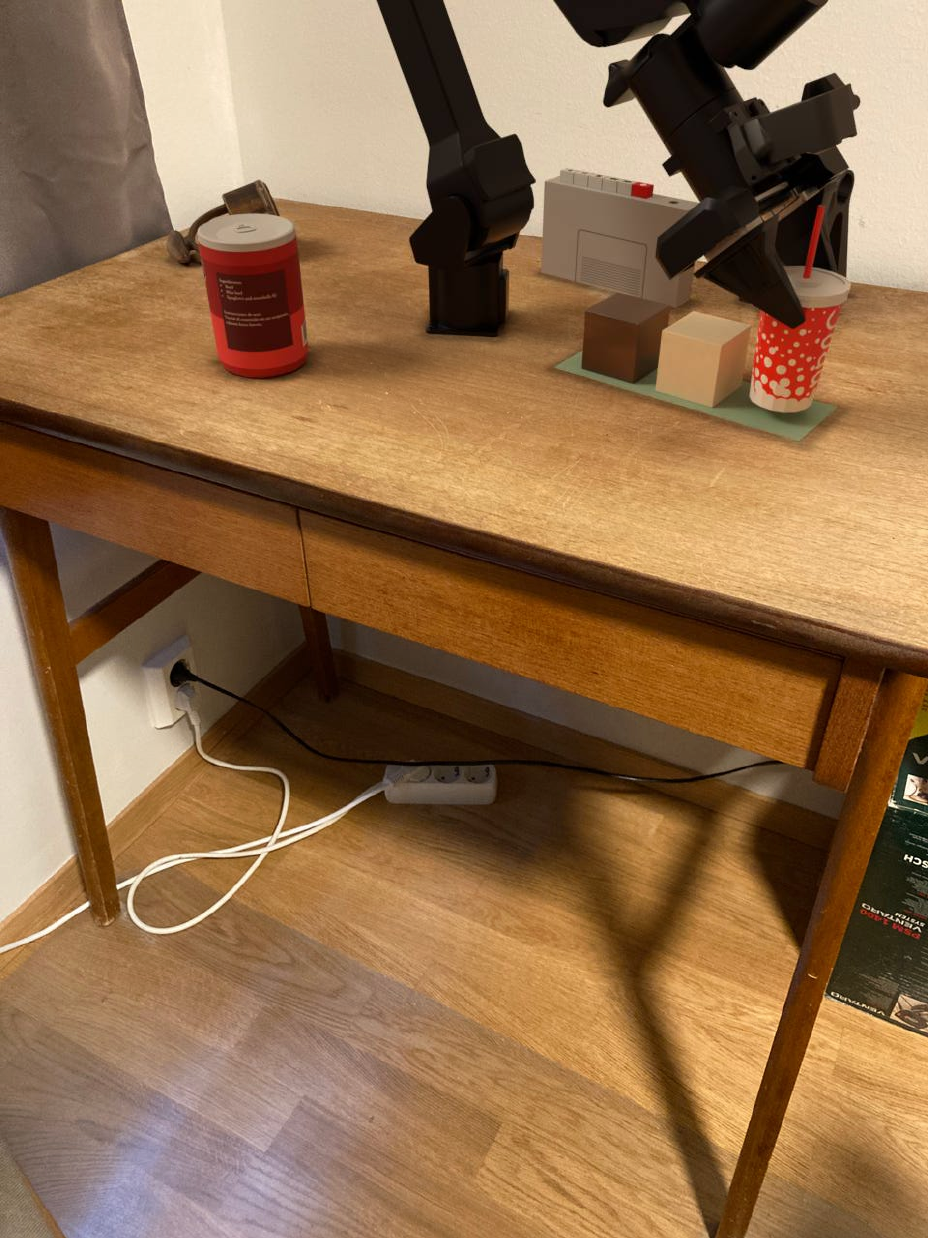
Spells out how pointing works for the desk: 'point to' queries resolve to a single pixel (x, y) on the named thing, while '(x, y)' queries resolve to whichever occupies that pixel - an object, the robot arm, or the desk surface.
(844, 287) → the beverage cup
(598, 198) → the cassette player
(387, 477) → the desk surface
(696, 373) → the cream block
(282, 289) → the canned food
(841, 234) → the phone stand
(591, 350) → the walnut block
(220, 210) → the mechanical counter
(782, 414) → the line mat
